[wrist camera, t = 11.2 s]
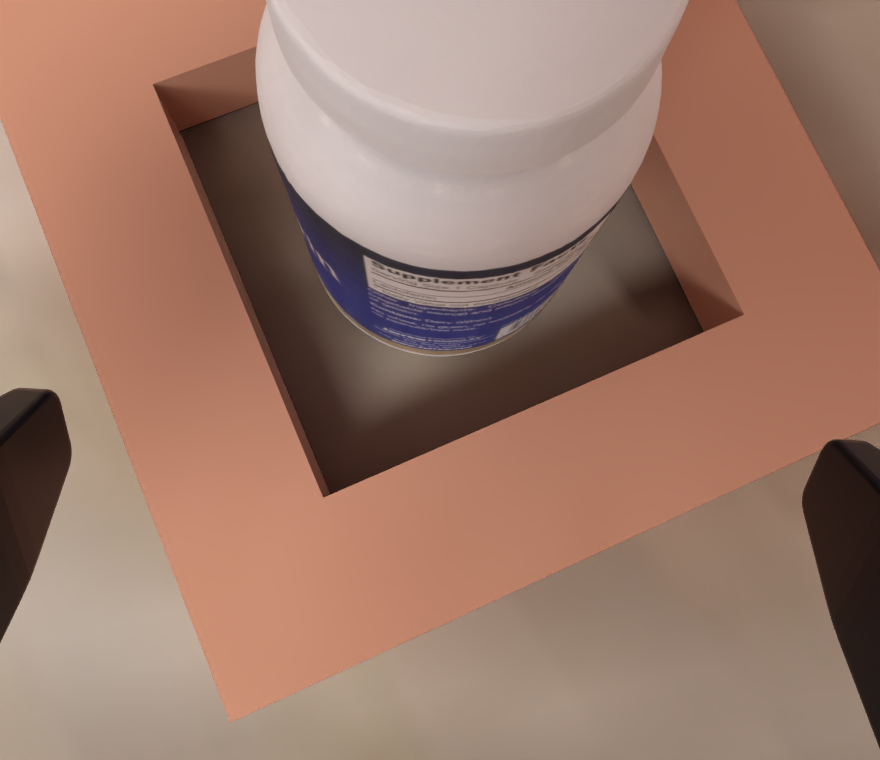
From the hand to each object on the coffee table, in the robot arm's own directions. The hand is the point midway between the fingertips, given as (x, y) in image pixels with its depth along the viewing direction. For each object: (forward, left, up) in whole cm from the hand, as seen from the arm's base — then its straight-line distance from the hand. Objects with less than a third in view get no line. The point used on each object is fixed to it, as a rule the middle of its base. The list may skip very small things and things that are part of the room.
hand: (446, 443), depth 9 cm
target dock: (+5, -2, -8) cm, 9 cm away
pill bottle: (+5, -2, -8) cm, 10 cm away
